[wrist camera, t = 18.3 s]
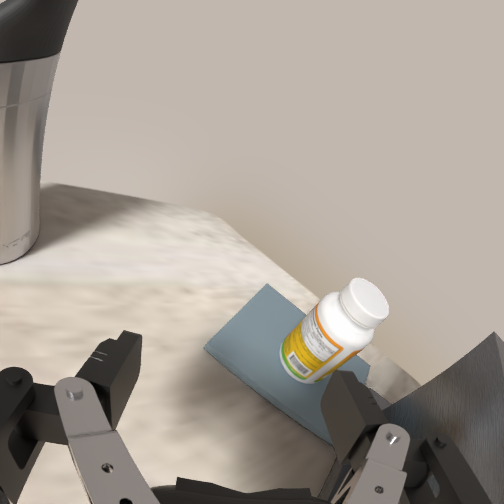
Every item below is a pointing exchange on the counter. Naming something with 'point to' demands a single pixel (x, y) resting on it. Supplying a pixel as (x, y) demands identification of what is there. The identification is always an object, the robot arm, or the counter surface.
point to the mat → (274, 358)
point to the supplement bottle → (333, 331)
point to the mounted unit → (455, 417)
